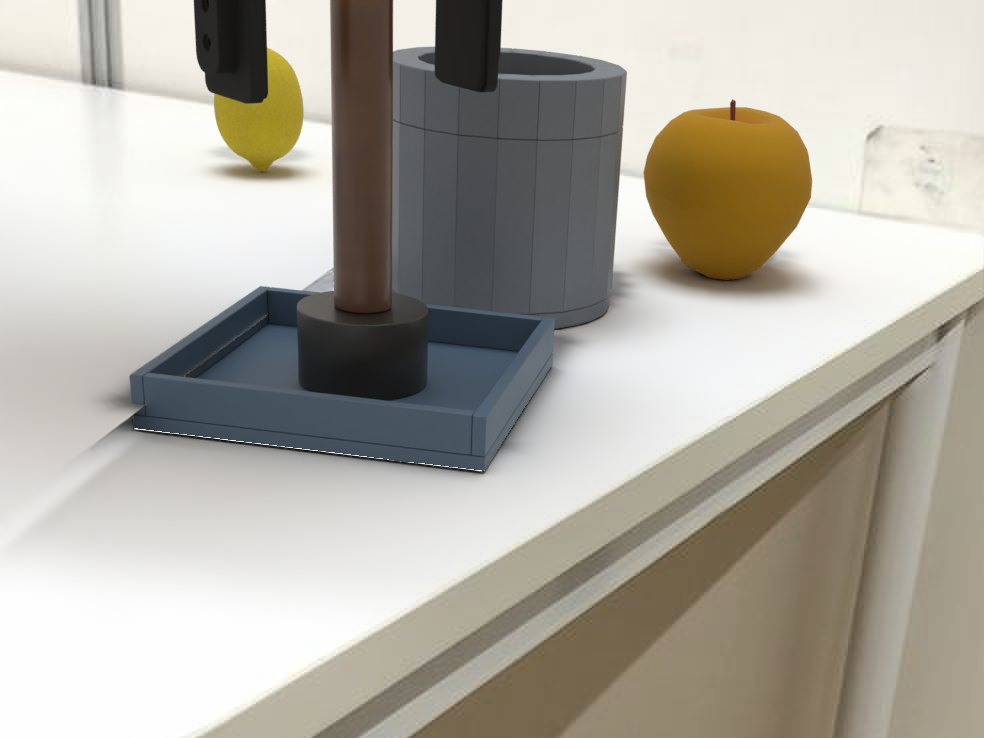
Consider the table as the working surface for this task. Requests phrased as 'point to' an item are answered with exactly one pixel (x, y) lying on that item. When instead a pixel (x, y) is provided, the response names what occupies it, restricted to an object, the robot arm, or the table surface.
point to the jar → (508, 185)
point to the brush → (362, 229)
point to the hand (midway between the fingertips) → (357, 91)
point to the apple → (727, 187)
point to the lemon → (264, 117)
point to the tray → (344, 419)
